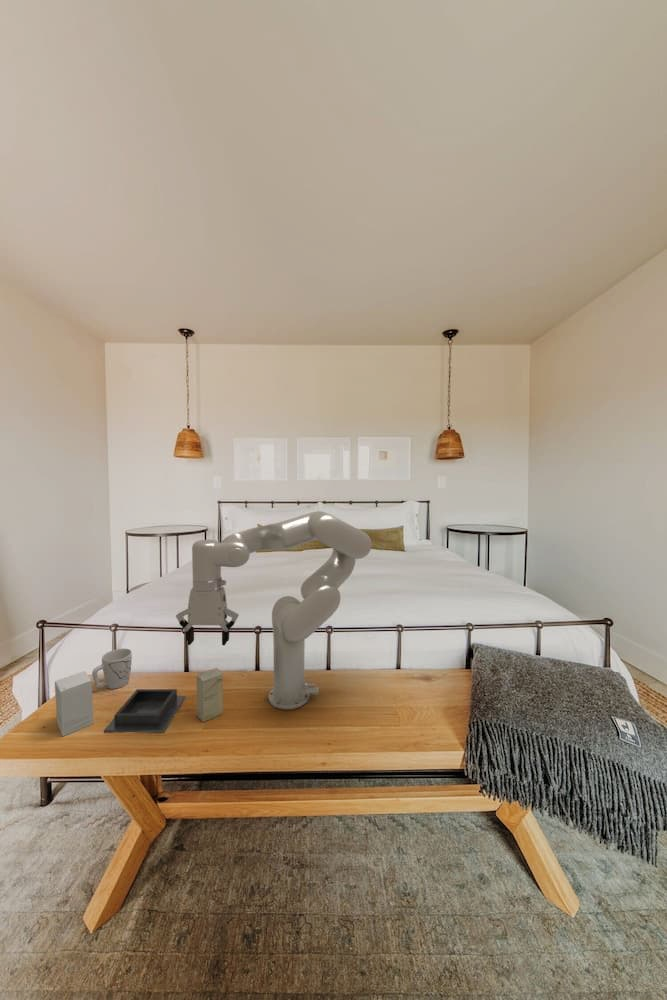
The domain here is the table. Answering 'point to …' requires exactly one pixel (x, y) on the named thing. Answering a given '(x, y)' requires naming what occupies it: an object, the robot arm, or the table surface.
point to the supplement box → (74, 703)
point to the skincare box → (209, 694)
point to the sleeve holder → (147, 711)
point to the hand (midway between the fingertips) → (207, 643)
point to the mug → (114, 668)
